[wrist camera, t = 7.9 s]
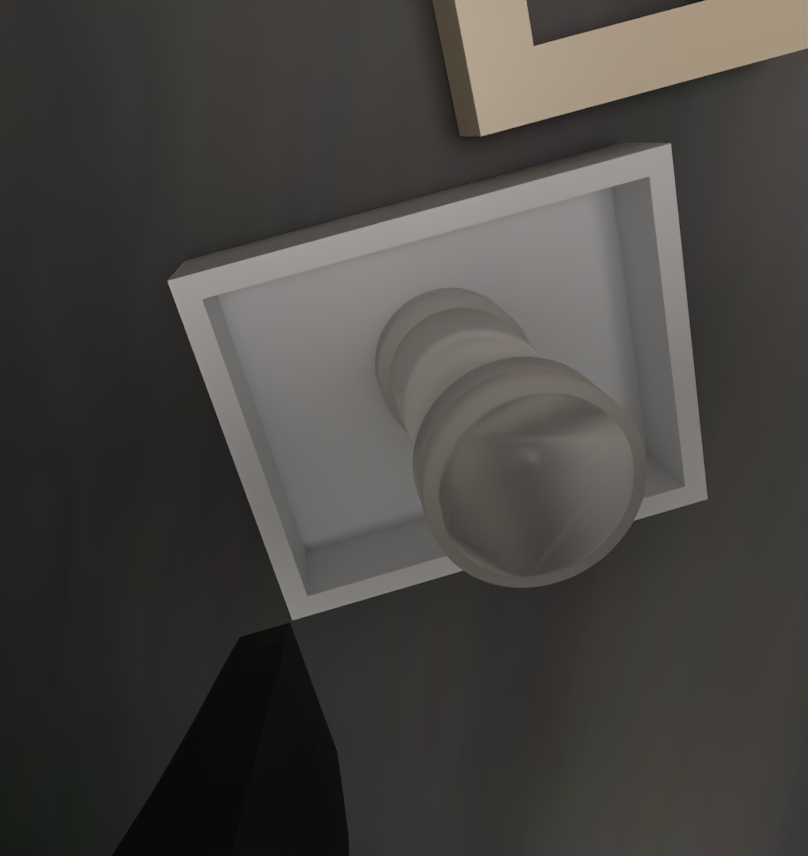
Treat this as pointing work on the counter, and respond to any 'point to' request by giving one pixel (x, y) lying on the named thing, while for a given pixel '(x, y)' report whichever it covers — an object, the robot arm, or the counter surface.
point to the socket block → (598, 55)
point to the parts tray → (377, 302)
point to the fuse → (507, 443)
